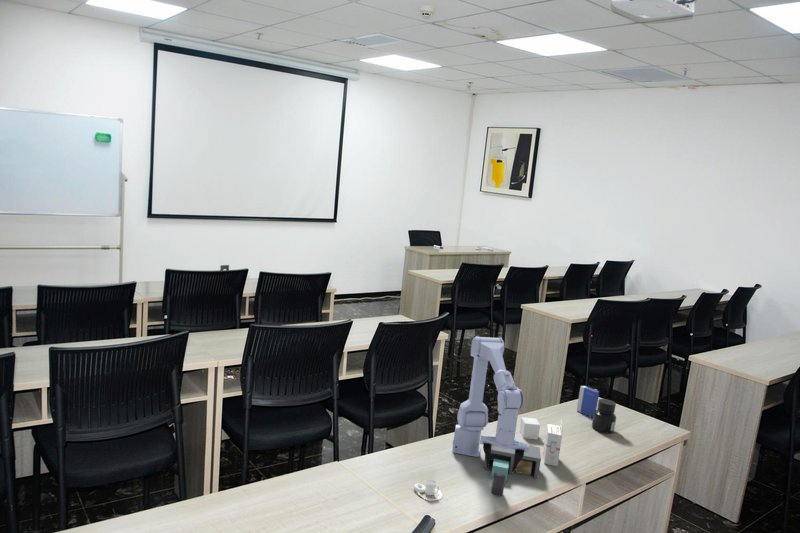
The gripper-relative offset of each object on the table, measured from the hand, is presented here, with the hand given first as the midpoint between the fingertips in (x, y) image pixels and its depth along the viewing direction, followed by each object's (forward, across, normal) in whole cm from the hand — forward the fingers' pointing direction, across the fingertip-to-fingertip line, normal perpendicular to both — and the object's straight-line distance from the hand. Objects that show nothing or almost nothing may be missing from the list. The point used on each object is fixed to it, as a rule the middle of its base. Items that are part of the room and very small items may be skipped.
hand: (500, 469), depth 180 cm
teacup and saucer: (+9, -21, -5) cm, 23 cm away
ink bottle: (+8, +42, +70) cm, 83 cm away
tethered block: (+8, 0, +7) cm, 10 cm away
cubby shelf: (+8, +4, +20) cm, 22 cm away
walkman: (+9, +37, +85) cm, 94 cm away
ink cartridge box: (+8, +18, +32) cm, 37 cm away
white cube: (+9, +11, +50) cm, 52 cm away
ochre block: (+8, +8, +20) cm, 23 cm away
